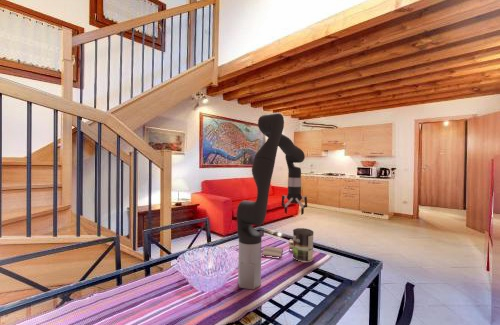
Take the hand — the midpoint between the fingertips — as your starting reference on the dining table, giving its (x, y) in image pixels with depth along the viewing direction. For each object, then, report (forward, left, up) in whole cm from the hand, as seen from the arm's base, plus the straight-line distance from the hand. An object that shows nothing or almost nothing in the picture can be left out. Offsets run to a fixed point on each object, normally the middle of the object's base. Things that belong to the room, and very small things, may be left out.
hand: (294, 214), depth 132 cm
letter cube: (0, 0, -20) cm, 20 cm away
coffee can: (-11, -5, -20) cm, 24 cm away
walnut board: (-9, +11, -20) cm, 25 cm away
